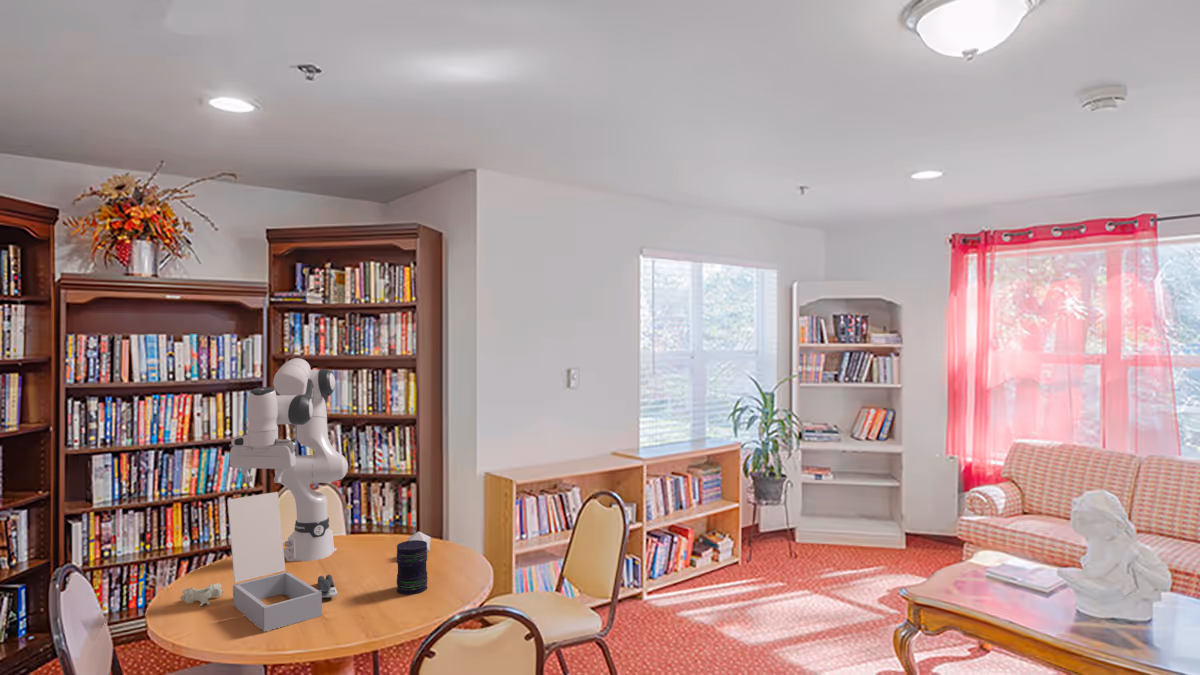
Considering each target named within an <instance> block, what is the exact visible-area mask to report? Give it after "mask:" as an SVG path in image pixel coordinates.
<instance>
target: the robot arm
mask: <svg viewBox="0 0 1200 675" xmlns="http://www.w3.org/2000/svg"><path fill="white" fill-rule="evenodd" d="M273 377H274V378H273V382H272V384H273V387H270V386H263V387H256V388H253V389H251V390H250V391H249V393H248V398H247V405H246V406H247V407H246V418H247V424H248V425H247V429H246V434H243V435H240V436H237V437H235V438H232V439H231V445H232V447H231V448H230V452H229V465H230V468H232V469H240V470H241V473H242V474H243V476H244V478H245V479H244V481H245V483H251V482H253V480H254V479H253V477H254V476H253V475H252V474H250V472H249V470H250V469H267V470H268V469H269V470H270V469H271V470H273V469H274V475H275V476H273V483H275V484H280V485H283V487H285V488H287V489H288V490H289V491H290V493H291V494H292V496H293V499H294V500H295V501H294V502H295V509H296V520H295V524H294V528H293V529H294V531H293V532H292V533H291V534H290V535H289V536H288V537H287V540H285V541H284V546H285V548H283V550H284V559H286V561H287V562H312V561H317V560H321V559H322V560H323V559H326V558H327V557H328V558H329V557H330V556H332V554H333V553H334V552H335V551H338V548H337V547H335V546H334V536H333V530H331V529H330V517H329V510H328V509H329V503H328V502H329V500H328V498H327V495H325V494H323V493H321V492H319V491H317V490H313V489H312V488H311V485H312V484H322V483H332V482H336V481H339V480H343V479H344V477H346V475H347V473H348V470H349V463H348V460H347V458H346V456H344V455H343V454H341V453H340V452H338V451H337V450H336V449H335V447H333V446H332V443H331V442H330V439H329V431H328V414H327V405H326V401H327V400H328V398H329V397H330V396H331V395H332V394H333V392H334V391H335V386H336V378H335V376H334V373H333V372H332V371H331V370H330V369H326V368H320V369H311V365H310V364H309V362H308V361H306V360H305V359H303V358H301V357H300V358H299V357H295V358H292V359H290V360H288V361H286V362H285V363H284V364H282V365H281V366H280V367H279V369H278V370H277V372H276V373H275V374H274V376H273ZM278 425H296V440H297V441H298V443H299V444H301V445H302V446H304V447H307V448H309V449H311V450H313V453H314V454H306V455H296V453H295V450H296V445H295V443H294V441H292V440H291V439H290V438H289V439H288V438H287V439H284V438H283V439H282V438H279V426H278Z"/></svg>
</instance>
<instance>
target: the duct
mask: <svg viewBox="0 0 1200 675" xmlns="http://www.w3.org/2000/svg"><path fill="white" fill-rule="evenodd" d="M232 594H233V595H232V597H233V598H232V601H233V602H232V605H233V607H234V608H236V609H237V611H239V612H241V613H242V615H245V616H246V617H247V618H248V619H250V620H251V621H252V622H253V623H254V624H256V625H257V626H258V627H259V628H260V629H262V630H263V631H264V632H265V631H269V630H272V629H275V630H277V629H276V628H279V629H281V628H280V627H282V628H284V627H283V626H285V627H288V626H287V625H289V626H292V625H295V624H298V622H299V623H302V622H305V621H308V620H312V619H314V618H315V617H316V618H320V617H322V616H323V608H322V607H323V604H322V603H323V598H322V592H320V591H319V589H317V588H315V587H313V586H312V585H310V584H309V583H307V582H305V581H304V580H303V579H300V578H299V577H297V576H295V574H292V573H290V572H289V571H283V572H281V573H274V574H270V575H266V576H262V577H258V578H254V579H250V580H248V581H247V580H246V581H241V582H237V583H235V584H233V585H232ZM279 595H282V596H286V597H288V598H289V599H287V600H284V601H280V602H276V603H272V604H268V605H267V604H265V603H264V602H263V601H261V600H263V599H268V598H271V597H274V596H279ZM246 617H245V618H246ZM247 618H246V619H247ZM248 619H247V620H248ZM304 620H305V621H304ZM251 621H250V622H251ZM301 621H302V622H301ZM252 622H251V623H252ZM253 623H252V624H253ZM294 623H295V624H294ZM254 624H253V625H254ZM291 624H292V625H291ZM256 625H255V626H256ZM257 626H256V627H257ZM258 627H257V628H258ZM259 628H258V629H259ZM260 629H259V630H260ZM262 630H261V631H262ZM263 631H262V632H263ZM272 631H273V630H272ZM264 632H263V633H264ZM269 632H270V631H269ZM265 633H266V632H265Z"/></svg>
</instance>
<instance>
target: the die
mask: <svg viewBox="0 0 1200 675" xmlns="http://www.w3.org/2000/svg"><path fill="white" fill-rule="evenodd" d="M431 538H432V537H431V536H429V535H427V534H425V533H423V532H421V531H417V532H415V533H413V534H412V535H410V536H408V538H407V541H412V540H420V541H425V542H427V553H429V552H430V549H431Z"/></svg>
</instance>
